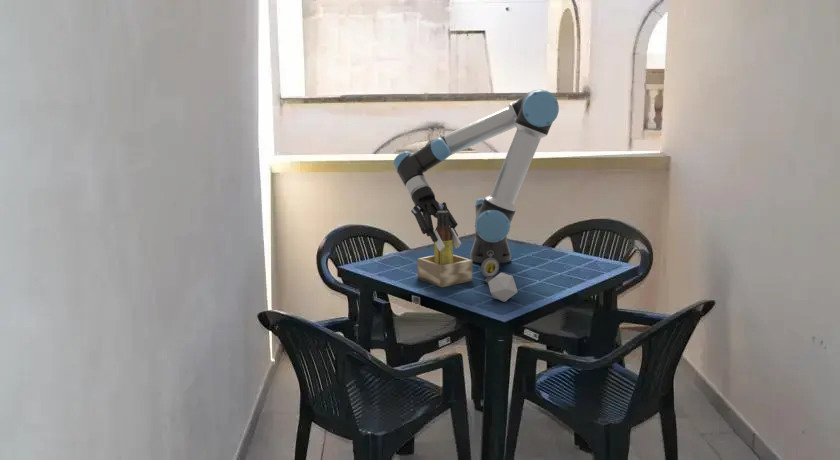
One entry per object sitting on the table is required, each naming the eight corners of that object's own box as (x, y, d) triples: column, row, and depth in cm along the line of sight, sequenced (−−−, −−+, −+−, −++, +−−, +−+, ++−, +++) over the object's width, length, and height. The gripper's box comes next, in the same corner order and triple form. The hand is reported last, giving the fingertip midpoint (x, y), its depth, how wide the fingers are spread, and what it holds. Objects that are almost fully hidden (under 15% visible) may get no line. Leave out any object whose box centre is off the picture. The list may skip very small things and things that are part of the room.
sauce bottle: (456, 269, 227) (457, 210, 223) (447, 273, 222) (448, 213, 217) (439, 266, 230) (440, 209, 226) (430, 270, 225) (430, 211, 221)
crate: (447, 272, 235) (447, 252, 234) (472, 280, 225) (472, 260, 224) (417, 278, 228) (417, 258, 226) (441, 287, 217) (441, 266, 216)
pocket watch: (500, 286, 218) (500, 256, 216) (476, 282, 223) (477, 253, 221) (510, 280, 225) (511, 251, 223) (487, 276, 229) (488, 248, 227)
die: (522, 302, 204) (519, 273, 208) (510, 295, 197) (507, 264, 201) (498, 308, 208) (495, 279, 212) (485, 301, 201) (482, 271, 205)
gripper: (437, 196, 239) (467, 249, 229) (393, 201, 227) (422, 258, 218) (447, 182, 234) (478, 237, 224) (402, 187, 222) (432, 245, 213)
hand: (450, 247), depth 221 cm, fingers closed on sauce bottle, 6 cm apart
